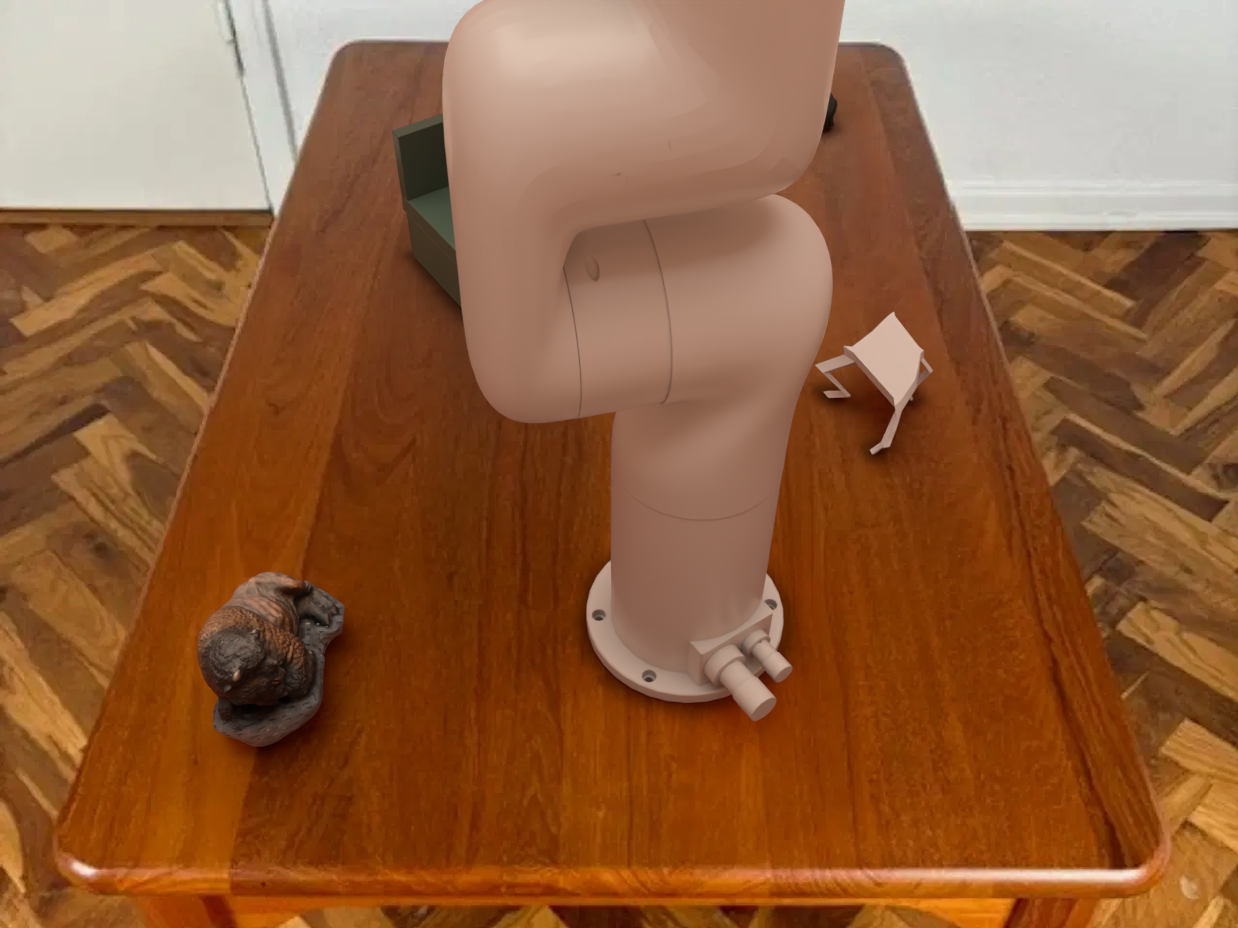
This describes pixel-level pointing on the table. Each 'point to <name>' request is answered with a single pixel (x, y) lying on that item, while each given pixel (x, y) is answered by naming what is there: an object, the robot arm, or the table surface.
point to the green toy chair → (428, 199)
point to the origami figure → (883, 368)
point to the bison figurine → (268, 656)
